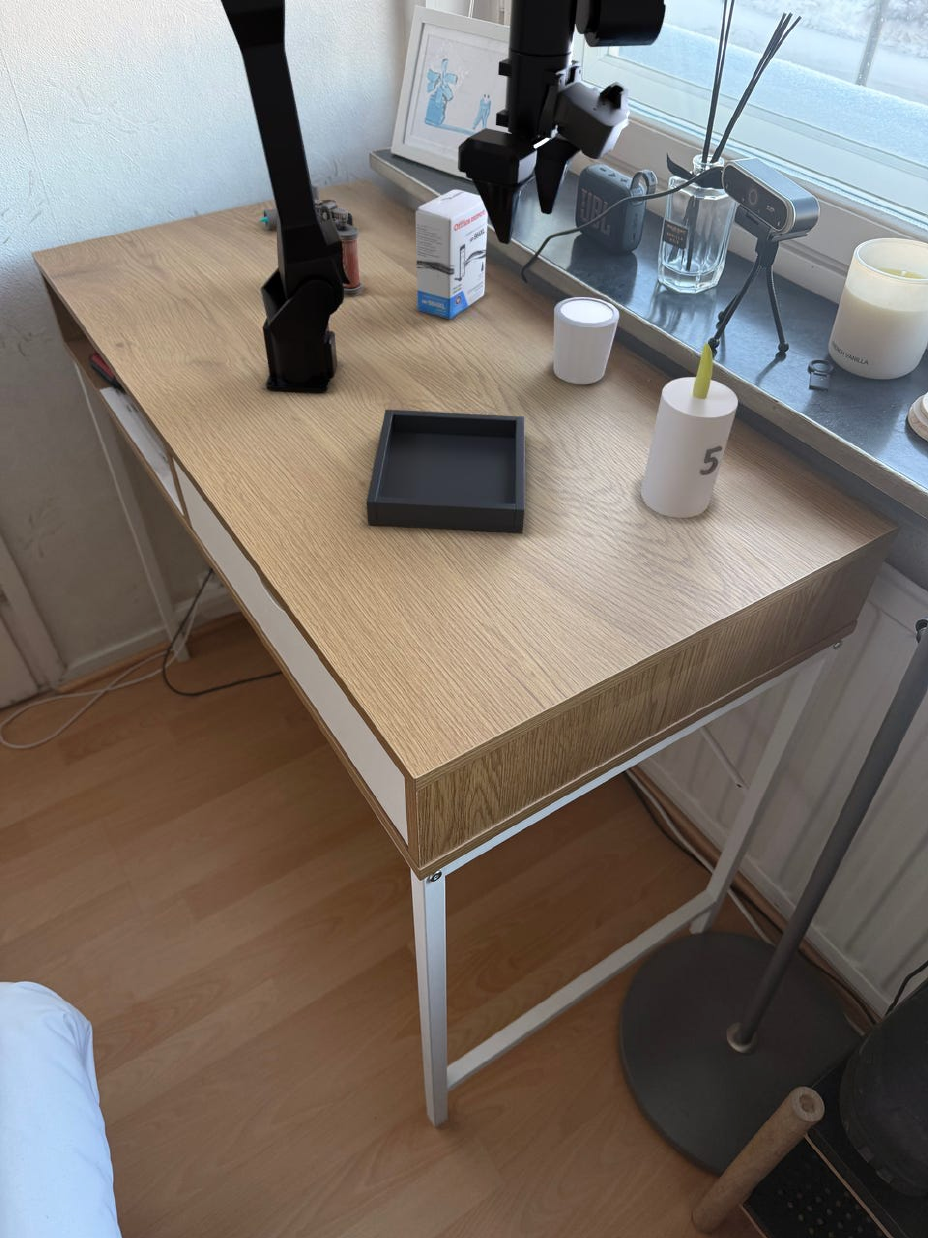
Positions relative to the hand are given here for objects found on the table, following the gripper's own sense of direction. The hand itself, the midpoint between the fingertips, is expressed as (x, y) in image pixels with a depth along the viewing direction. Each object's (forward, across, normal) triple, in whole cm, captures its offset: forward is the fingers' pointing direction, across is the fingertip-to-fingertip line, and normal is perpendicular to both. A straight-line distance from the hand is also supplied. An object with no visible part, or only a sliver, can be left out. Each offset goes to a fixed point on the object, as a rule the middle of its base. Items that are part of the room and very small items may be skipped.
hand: (526, 227), depth 88 cm
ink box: (+14, +7, +13) cm, 20 cm away
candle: (+14, -15, -25) cm, 33 cm away
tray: (+14, -24, -6) cm, 29 cm away
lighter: (+14, +2, +27) cm, 31 cm away
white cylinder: (+14, 0, -8) cm, 16 cm away
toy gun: (+14, +14, +40) cm, 45 cm away
